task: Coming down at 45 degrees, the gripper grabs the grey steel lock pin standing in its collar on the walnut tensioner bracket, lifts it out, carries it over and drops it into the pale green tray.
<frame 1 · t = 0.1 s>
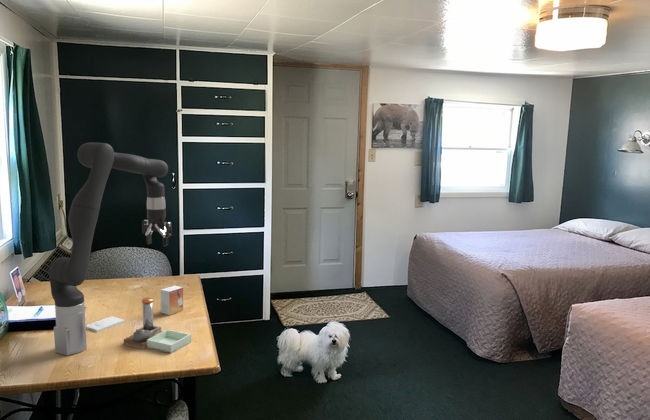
hand: (157, 245, 217), 29 cm above the table, tool pointing down, fingers open, 8 cm apart
external hard drive: (104, 326, 204), on the table
tray: (169, 344, 186), on the table
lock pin: (148, 332, 192), point 2 cm above the table, touching tensioner bracket
small box: (172, 312, 220), on the table
tensioner bracket: (145, 340, 189), on the table
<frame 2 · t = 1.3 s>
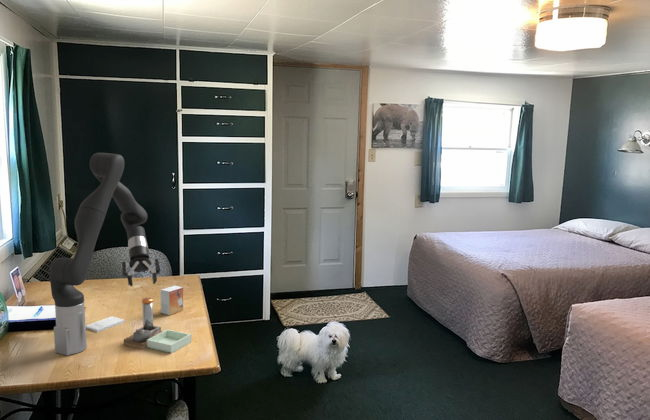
hand: (143, 284, 200), 18 cm above the table, tool tilted 45°, fingers open, 8 cm apart
nothing on the table moved.
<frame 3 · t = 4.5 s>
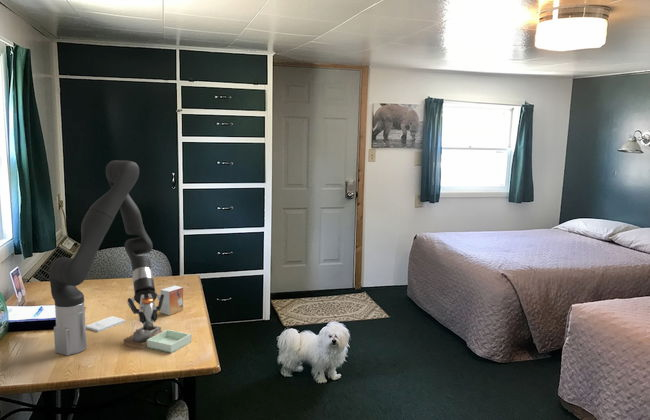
hand: (149, 321, 190), 7 cm above the table, tool tilted 45°, fingers closed on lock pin, 3 cm apart
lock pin: (148, 332, 192), point 2 cm above the table, touching gripper, tensioner bracket
everything else where it was.
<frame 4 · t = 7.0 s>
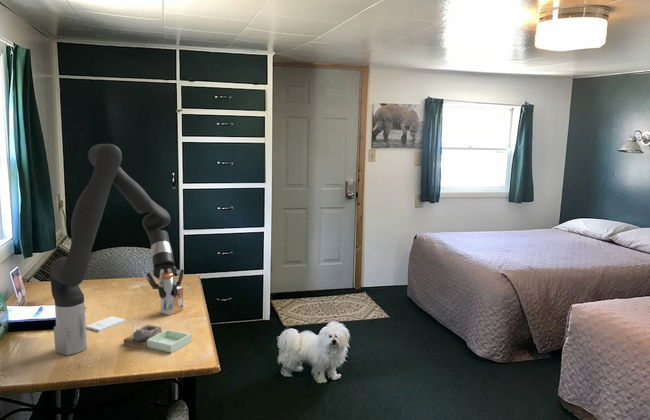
hand: (169, 296, 182), 19 cm above the table, tool tilted 45°, fingers closed on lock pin, 3 cm apart
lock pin: (168, 308, 184), point 14 cm above the table, touching gripper
everything else where it was.
when the fingers open (7 cm above the table, at t = 9.5 s): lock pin drops 1 cm, resting on tray.
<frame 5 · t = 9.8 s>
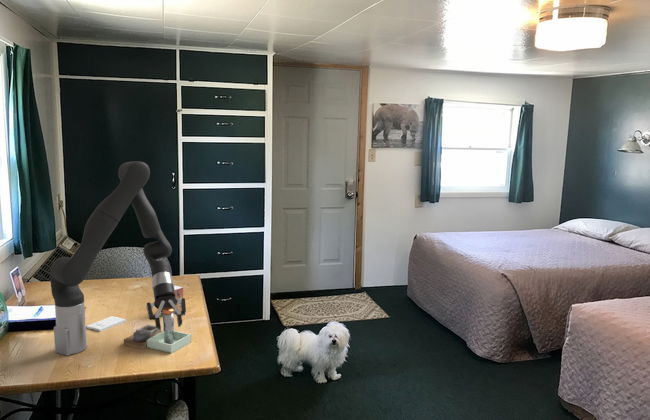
hand: (169, 327, 184), 7 cm above the table, tool tilted 45°, fingers open, 6 cm apart
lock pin: (169, 343, 186), point 1 cm above the table, touching tray
everything else where it was.
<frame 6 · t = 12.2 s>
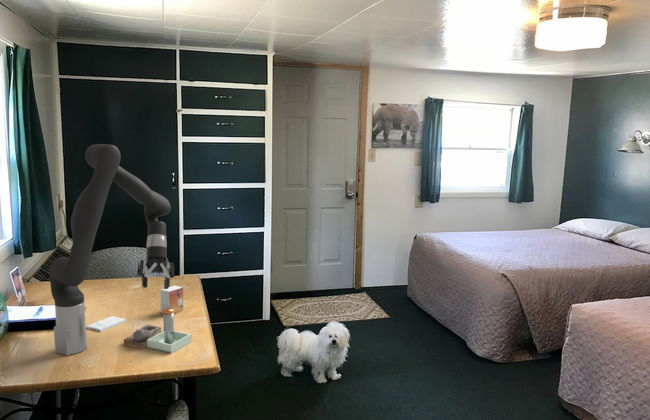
hand: (155, 288, 196), 17 cm above the table, tool tilted 25°, fingers open, 8 cm apart
nothing on the table moved.
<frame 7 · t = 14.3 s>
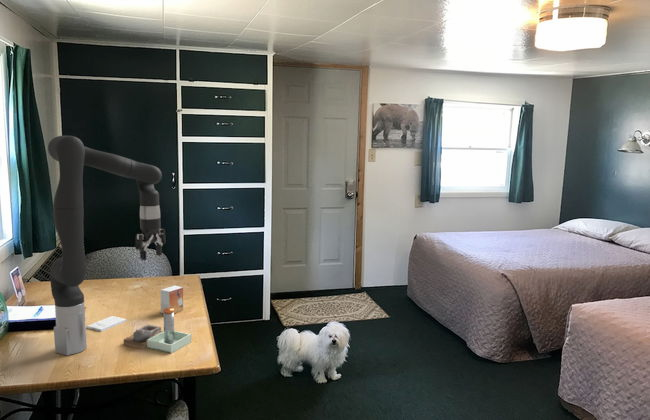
hand: (151, 257, 200), 28 cm above the table, tool pointing down, fingers open, 8 cm apart
nothing on the table moved.
at the end: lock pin inside the target area on the tray (0.1 cm from its centre), point 0.6 cm above the tray's base; the gripper is holding nothing; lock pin moved 11.7 cm from its start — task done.
